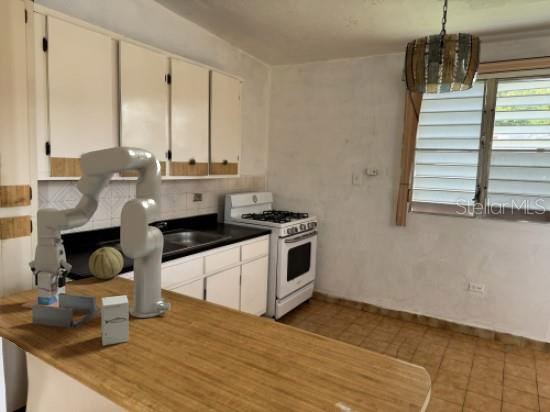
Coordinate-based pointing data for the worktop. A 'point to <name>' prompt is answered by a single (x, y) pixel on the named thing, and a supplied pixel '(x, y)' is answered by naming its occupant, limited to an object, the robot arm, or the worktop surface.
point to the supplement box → (114, 319)
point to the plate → (35, 302)
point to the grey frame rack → (66, 311)
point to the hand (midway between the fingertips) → (50, 285)
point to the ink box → (48, 287)
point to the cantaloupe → (106, 263)
